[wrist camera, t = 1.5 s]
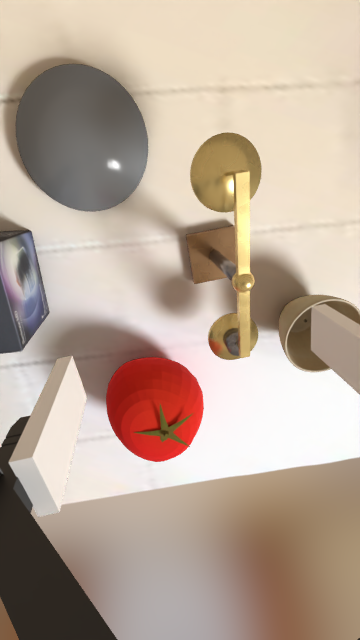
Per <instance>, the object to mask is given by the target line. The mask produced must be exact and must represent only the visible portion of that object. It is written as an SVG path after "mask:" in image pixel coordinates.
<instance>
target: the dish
mask: <svg viewBox="0 0 360 640" xmlns="http://www.w3.org/2000/svg"><path fill="white" fill-rule="evenodd" d="M16 138H17V145H18V149H19V152H20V156H21V158H22V161H23V163H24V165H25V167H26V169H27V171H28V173H29V174H30V176H31V177H32V179H33V180H34V181H35V183H36V184H37V185H38V186H39V187H40V188H41V189H42V190H43V191H44V192H45V193H46V194H47V195H48V196H50V197H51V198H52V199H54V200H55V201H57V202H59V203H61V204H62V205H65V206H67V207H69V208H73V209H76V210H81V211H101V210H105V209H109V208H111V207H114V206H116V205H118V204H119V203H121V202H123V201H124V200H125V199H126V198H128V197H129V196H130V195H131V194H132V193H133V191H134V190H135V189H136V187H137V186H138V185H139V183H140V181H141V179H142V177H143V174H144V171H145V168H146V163H147V157H148V138H147V131H146V127H145V123H144V120H143V118H142V115H141V113H140V111H139V109H138V107H137V105H136V103H135V102H134V100H133V98H132V97H131V95H130V94H129V93H128V92H127V91H126V89H125V88H124V87H123V86H122V85H121V84H120V83H119V82H117V81H116V80H115V79H114V78H112V77H111V76H110V75H108V74H106V73H104V72H102V71H101V70H98V69H96V68H93V67H90V66H86V65H80V64H66V65H60V66H56V67H53V68H51V69H49V70H47V71H45V72H43V73H42V74H40V75H39V76H38V77H37V78H36V79H35V80H34V81H33V82H32V83H31V84H30V85H29V87H28V88H27V89H26V91H25V93H24V95H23V96H22V99H21V101H20V104H19V107H18V111H17V116H16Z"/></svg>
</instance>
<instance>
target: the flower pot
mask: <svg viewBox="0 0 360 640" xmlns="http://www.w3.org/2000/svg"><path fill="white" fill-rule="evenodd" d="M322 304H326V305H328V306H329V307H331V308H333V309H334V310H336V311H338V312H339V313H341V314H343V315H344V316H346V317H348V318H349V319H351V320H353V321H354V322H356V323H358V324H359V325H360V311H359V309H358V308H357V307H356V306H355V305H354V304H352V303H351V302H349V301H346V300H344V299H341V298H337V297H333V296H327V295H308V296H303V297H299V298H297V299H294V300H292V301H291V302H289V303H288V304H287V305H286V306H285V307H284V309H283V310H282V312H281V315H280V318H279V337H280V341H281V344H282V347H283V350H284V352H285V354H286V356H287V358H288V359H289V361H290V362H291V363H292V364H293V365H294V366H295V367H297V368H298V369H300V370H303V371H307V372H322V371H326V370H330V369H331V368H330V367H329V366H328V365H327V364H326V363H325V362H323V361H322V360H321V359H320V358H319V357H318V356H317V355H316V354H315V353H314V352H313V351H311V311H312V306H317V305H322ZM305 319H306V320H305Z"/></svg>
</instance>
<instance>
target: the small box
mask: <svg viewBox="0 0 360 640" xmlns="http://www.w3.org/2000/svg"><path fill="white" fill-rule="evenodd" d="M48 314H49V308H48V304H47V299H46V295H45V290H44V286H43V281H42V277H41V272H40V268H39V263H38V259H37V254H36V250H35V245H34V241H33V236H32V232H31V231H30V230H26V231H5V232H0V354H3V353H12V352H21V351H22V350H23V349H24V347H25V346H26V344H27V343H28V342H29V340H30V339H31V337H32V336H33V335H34V333H35V332H36V330H37V329H38V328H39V326H40V325H41V324H42V322H43V321H44V320H45V318H46V317H47V315H48Z"/></svg>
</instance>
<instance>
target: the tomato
mask: <svg viewBox="0 0 360 640" xmlns="http://www.w3.org/2000/svg"><path fill="white" fill-rule="evenodd" d="M106 404H107V414H108V417H109V421H110V424H111V426H112V429H113V431H114V432H115V434H116V436H117V437H118V438H119V440H120V441H121V442H122V443H123V445H124V446H125V447H126V448H127V449H128V450H130V451H131V452H132V453H134V454H135V455H137V456H139V457H141V458H143V459H146V460H149V461H154V462H161V461H165V460H169V459H171V458H174V457H176V456H178V455H180V454H181V453H182V452H184V451H185V450H186V449H187V448H188V446H189V445H190V444H191V442H192V440H193V438H194V437H195V435H196V433H197V431H198V429H199V426H200V423H201V420H202V415H203V409H204V407H203V394H202V391H201V388H200V386H199V384H198V382H197V379H196V378H195V377H194V376H193V375H192V374H191V373H190V372H189V370H188V369H187V368H186V367H184V366H183V365H181V364H179V363H178V362H175V361H172V360H169V359H164V358H157V357H148V358H140V359H135V360H132V361H129V362H126V363H125V364H123V365H122V366H121V367H119V368H118V370H117V371H116V372H115V373H114V375H113V376H112V378H111V380H110V382H109V385H108V389H107V394H106ZM189 447H190V446H189Z"/></svg>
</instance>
